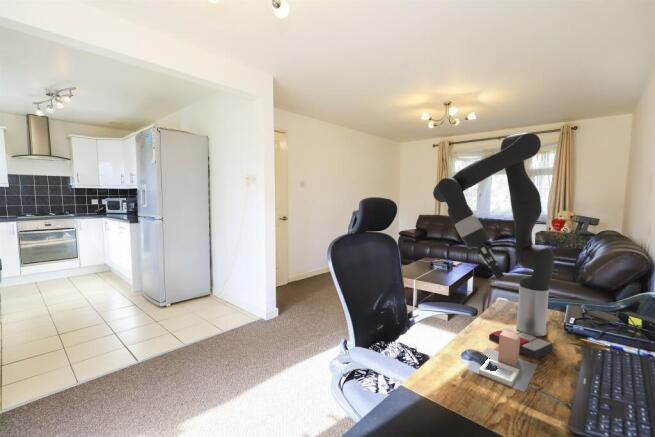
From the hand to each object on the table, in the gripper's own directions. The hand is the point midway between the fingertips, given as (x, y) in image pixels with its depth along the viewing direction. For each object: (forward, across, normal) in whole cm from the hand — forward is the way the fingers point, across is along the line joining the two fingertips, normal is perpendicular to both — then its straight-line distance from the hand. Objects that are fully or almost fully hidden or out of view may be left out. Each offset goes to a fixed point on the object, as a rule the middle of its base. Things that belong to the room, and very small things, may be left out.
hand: (499, 276), depth 95 cm
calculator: (+26, +12, +7) cm, 29 cm away
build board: (+24, -7, +13) cm, 28 cm away
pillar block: (+23, -2, +11) cm, 25 cm away
